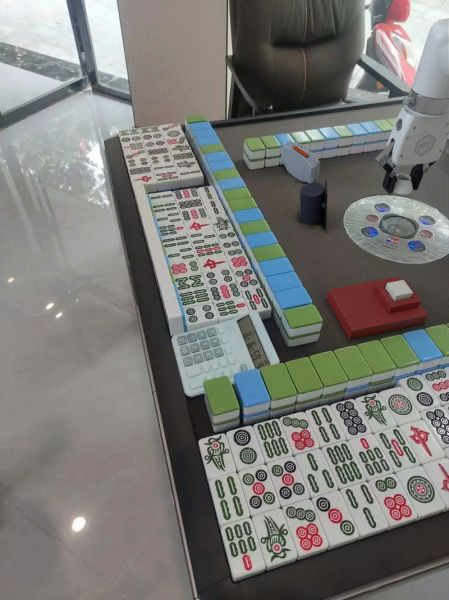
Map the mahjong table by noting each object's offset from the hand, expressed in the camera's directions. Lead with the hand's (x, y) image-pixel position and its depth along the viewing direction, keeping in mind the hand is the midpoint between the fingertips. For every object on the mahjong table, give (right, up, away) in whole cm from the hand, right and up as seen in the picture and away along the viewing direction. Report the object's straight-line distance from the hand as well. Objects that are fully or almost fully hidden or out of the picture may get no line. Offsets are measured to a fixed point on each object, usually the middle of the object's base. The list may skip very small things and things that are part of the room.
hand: (399, 187), depth 91 cm
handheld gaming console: (-16, +11, +30) cm, 36 cm away
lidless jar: (0, 0, 0) cm, 1 cm away
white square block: (-3, -22, -5) cm, 23 cm away
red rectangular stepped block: (-7, -26, -3) cm, 27 cm away
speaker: (-15, -4, +17) cm, 23 cm away
